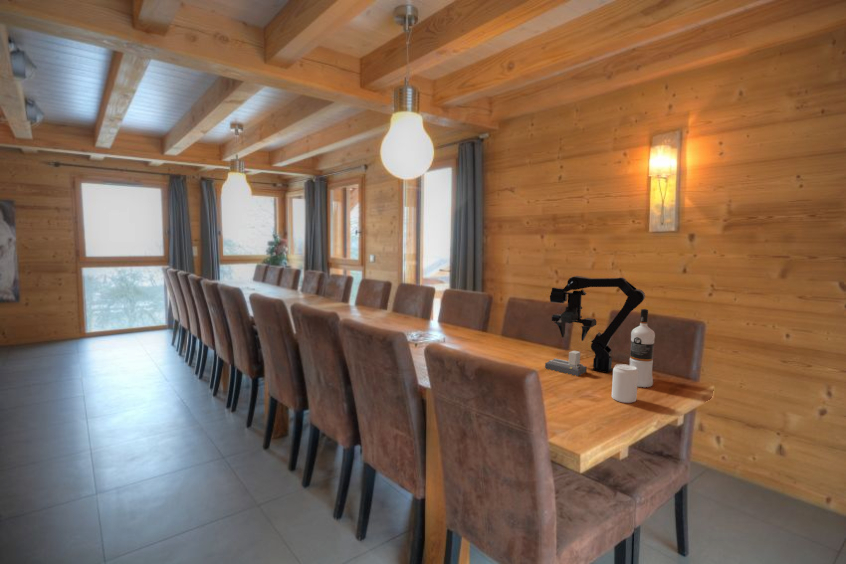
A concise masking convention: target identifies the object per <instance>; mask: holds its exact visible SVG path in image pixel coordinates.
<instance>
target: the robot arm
mask: <svg viewBox="0 0 846 564" xmlns="http://www.w3.org/2000/svg"><path fill="white" fill-rule="evenodd" d="M586 288H618V289H619V290H620V291H621V292H622V293H623V294H624V295H625V296H627V298H626V300H625V302H624V304H623V307H622V308H621V309H620V310H619V312H618V313H617V314H616V315H615V316H614V318H613V319H612V321H611V322H610V324H608V326H607V327H606V329H605V330H604V331H603V332H602V333H601V332H597V333H596V335H595V337H594V338H593V339H592V340H591V341H590V342H591V344H590V348H591V351H592V352H593V353H594V358H593V365H592V370H594V371H597V372H601V373H607V374H608V373H610V372H611V371H612V372H613V368H612V365H613V363H612V361H613V356H611V355H612V353H613V350H612V348H611V347H610V346H609V344H610V341H611V339H612V337H613V336H614V334H615V333H616V332H617V331H618V329H619V328H620V327H621V325H622V324H623V323H624V321H626V319H627V318H628V316H629V315H630V314H631V313H632V312H633V311H634V309H636V308H637V307H638V306H640V304H642V303H643V301H644V300H645V298H646V294H645V292H644V291H643V290H642V289H639V288H637V287H635V286H634V285H633V284H632V283H630V282H629V281H628V280H627V279H626V278H625V277H622V276H621V277H599V278H598V277H595V278H594V277H592V278H591V277H586V276H579V275H575V276H571V277H570V278H569V279H568V280H567V283H566V285H565V287H563V288H562V287H561V288H560V287H559V288H558V287H552V288H551V291H550V295H549V301H550V303H553V304H554V303H555V304H565V302H567V306H566V307H565V311H563V312H562V313H555V314H552V316H551V322H554V324H556V325H557V326H558V329H559V332H560V335H561V338H564V337H565V335H566V332H565V331H566V324H572V323H579V324H582V325H581V330H582V331H581V337H580V339H581V342H583V341H585V338H586V336H587V334H588V332H589V331H590V329H592V328H593V327H595V326H597V319H596V318H592V317H586V318H583V316H582V315H581V313H582V309H583V306H582V296H586V295H587V292H586V291H585V290H584V289H586ZM571 291H572V292H571Z"/></svg>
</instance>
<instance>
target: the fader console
mask: <svg viewBox="0 0 846 564" xmlns="http://www.w3.org/2000/svg"><path fill="white" fill-rule="evenodd" d="M568 362H569V360H565V359H559V358H553V359H550V360H548V361H546V362H545V363H544V369H545V368H546V369H545V370H549V369H551V370H550V371H553V370H555V371H554V372H557V371H559V373H562V372H564V373H563V374H566V373H568V374H567V375H570V374H572V375H571V376H574V375H576V376H575V377H580V376H582V375H583V373H584V374H586V373H587V366H586V365H584V364H583V363H580V364H577V366H575V365H571V364H568ZM585 372H586V373H585ZM581 374H582V375H581ZM579 375H580V376H579Z"/></svg>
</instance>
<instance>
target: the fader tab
mask: <svg viewBox="0 0 846 564" xmlns="http://www.w3.org/2000/svg"><path fill="white" fill-rule="evenodd" d="M568 361H569V362H568V364H571V365H575V366H577V364H581V351H578V350H572V351H569V352H568Z"/></svg>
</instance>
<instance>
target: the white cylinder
mask: <svg viewBox="0 0 846 564" xmlns="http://www.w3.org/2000/svg"><path fill="white" fill-rule="evenodd" d="M612 369H613V370H612V380H611V381H612V384H611V398H612V399H613V400H615V401H617V402H620V403H623V404H632V403H635V402H636V401H637V395H638V387H637V383H638V371H637V368H636V367H634V366H631V365H630V364H625V363H624V364H623V363H617V364H615V365H614V367H613V368H612Z"/></svg>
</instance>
